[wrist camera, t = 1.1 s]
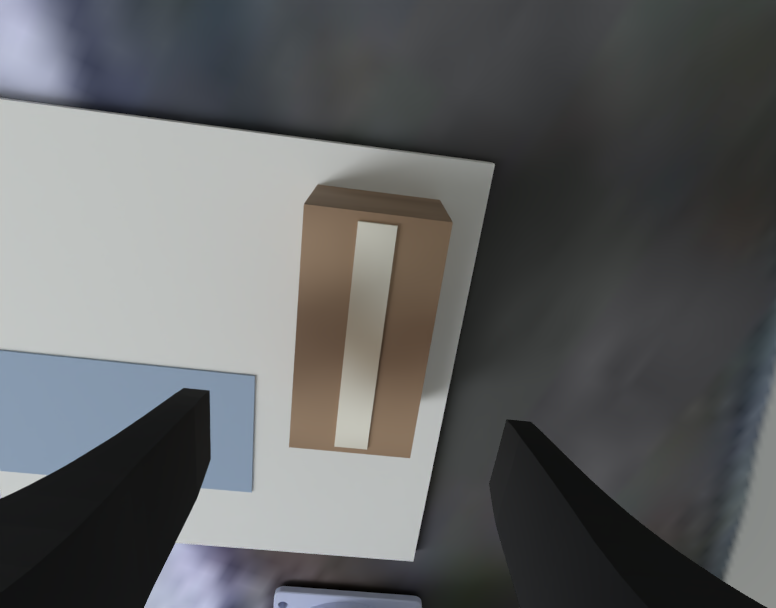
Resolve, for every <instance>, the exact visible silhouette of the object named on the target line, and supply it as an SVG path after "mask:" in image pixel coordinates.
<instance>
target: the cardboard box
mask: <svg viewBox="0 0 776 608" xmlns="http://www.w3.org/2000/svg"><path fill="white" fill-rule="evenodd" d="M452 225H453V222H452V220H451V218H450V216H449V215H448V213H447V211H446V210H445V208H444V206H443V204H442V203H441V201H440V200H437V199H429V198H421V197H413V196H406V195H398V194H390V193H382V192H374V191H366V190H358V189H350V188H342V187H334V186H326V185H318V184H317V186H316V187H315V189H314V190H313V192H312V193H311V194H310V196H309V197H308V199H307V200H306V202H305V203H304V209H303V225H302V242H301V258H300V274H299V291H298V307H297V323H296V340H295V356H294V372H293V389H292V405H291V421H290V438H289V447H292V448H303V449H314V450H325V451H336V452H347V453H358V454H368V455H379V456H390V457H401V458H410V456H411V450H412V445H413V439H414V434H415V428H416V423H417V417H418V412H419V406H420V401H421V395H422V390H423V384H424V379H425V373H426V368H427V362H428V357H429V351H430V346H431V340H432V335H433V329H434V324H435V318H436V313H437V307H438V302H439V296H440V291H441V285H442V280H443V274H444V269H445V263H446V258H447V252H448V247H449V241H450V236H451V230H452Z"/></svg>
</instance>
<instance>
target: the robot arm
mask: <svg viewBox="0 0 776 608" xmlns="http://www.w3.org/2000/svg"><path fill="white" fill-rule="evenodd" d="M210 460H211V439H210V390H200V389H190V388H183V389H181V390H180V391H178V392H177V393H175V394H174V395H172V396H171V397H169V398H168V399H167V400H165V401H164V402H162V403H161V404H160V405H158V406H157V407H155V408H154V409H153V410H151V411H150V412H148V413H147V414H146V415H144V416H143V417H141V418H140V419H138V420H137V421H135V422H134V423H132V424H131V425H129V426H128V427H126V428H125V429H124V430H122V431H121V432H119V433H118V434H116V435H115V436H113V437H111V438H110V439H108V440H107V441H105V442H103V443H102V444H100V445H98V446H97V447H95V448H94V449H92V450H90V451H89V452H87V453H86V454H84V455H82V456H81V457H79V458H78V459H76V460H74V461H73V462H71V463H69V464H67V465H66V466H64V467H62V468H60V469H58V470H57V471H55V472H53V473H51V474H49V475H47V476H45V477H43V478H41V479H40V480H38V481H36V482H34V483H32V484H30V485H28V486H26V487H24V488H22V489H20V490H18V491H16V492H14V493H12V494H10V495H7V496H5V497H3V498H1V499H0V608H144V606H145V604H146V602H147V599H148V597H149V595H150V593H151V591H152V588H153V586H154V584H155V582H156V580H157V578H158V576H159V574H160V572H161V570H162V568H163V566H164V564H165V562H166V560H167V558H168V556H169V554H170V552H171V550H172V548H173V546H174V544H175V542H176V540H177V538H178V536H179V534H180V532H181V530H182V528H183V526H184V524H185V522H186V520H187V518H188V516H189V514H190V512H191V510H192V508H193V506H194V504H195V502H196V500H197V497H198V495H199V492H200V489H201V486H202V484H203V481H204V478H205V475H206V472H207V469H208V466H209V463H210ZM489 485H490V492H491V499H492V506H493V511H494V517H495V523H496V527H497V530H498V534H499V537H500V541H501V544H502V548H503V551H504V555H505V558H506V561H507V565H508V568H509V571H510V575H511V578H512V581H513V585H514V588H515V592H516V595H517V598H518V602H519V605H520V608H767V607H765V606H763V605H761V604H760V603H758V602H756V601H755V600H753V599H751V598H749V597H748V596H746V595H744V594H743V593H741V592H740V591H738V590H736V589H735V588H733V587H731V586H730V585H728V584H727V583H725V582H723V581H722V580H720V579H719V578H717V577H716V576H714V575H713V574H711V573H710V572H708V571H707V570H705V569H704V568H702V567H701V566H699V565H698V564H696V563H694V562H693V561H691V560H690V559H688V558H687V557H686V556H684V555H683V554H681V553H680V552H679V551H677V550H676V549H674V548H673V547H671V546H670V545H669V544H667V543H666V542H665V541H663V540H662V539H661V538H660V537H658V536H657V535H656V534H654V533H653V532H652V531H650V530H649V529H648V528H646V527H645V526H644V525H642V524H641V523H640V522H639V521H637V520H636V519H635V518H634V517H632V516H631V515H630V514H629V513H628V512H626V511H625V510H624V509H623V508H622V507H621V506H620V505H618V504H617V503H616V502H615V501H614V500H613V499H611V498H610V497H609V496H608V495H607V494H606V493H605V492H603V491H602V490H601V489H600V488H599V487H598V486H597V485H596V484H595V483H594V482H593V481H591V480H590V479H589V478H588V477H587V476H586V475H585V474H584V473H583V472H582V471H581V470H580V469H579V468H578V467H577V466H576V465H575V464H574V463H573V462H572V461H571V460H570V459H569V458H568V457H567V456H566V455H565V454H564V453H563V452H562V451H561V450H559V449H558V448H557V447H556V446H555V445H554V444H553V443H552V442H551V441H550V440H549V439H548V438H547V437H546V436H545V435H544V434H543V433H542V432H541V431H540V430H539V429H538V428H537V427H536V426H535V425H534V424H533V423H531V422H527V421H517V420H506V424H505V427H504V431H503V435H502V439H501V442H500V446H499V450H498V453H497V457H496V461H495V465H494V468H493V472H492V476H491V480H490V483H489ZM274 608H422V602H421V599H420V598H419V597H417V596H413V595H400V594H386V593H373V592H359V591H346V590H332V589H319V588H305V587H292V586H281V587H279V588H277V589H276V591H275V596H274Z"/></svg>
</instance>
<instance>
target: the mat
mask: <svg viewBox="0 0 776 608" xmlns="http://www.w3.org/2000/svg"><path fill="white" fill-rule="evenodd" d="M494 167H495V164H494V163H492V162H486V161H479V160H471V159H464V158H456V157H449V156H441V155H433V154H426V153H418V152H411V151H403V150H395V149H388V148H380V147H373V146H365V145H358V144H350V143H342V142H335V141H327V140H320V139H312V138H305V137H297V136H289V135H282V134H274V133H267V132H259V131H251V130H244V129H236V128H229V127H221V126H214V125H206V124H198V123H191V122H183V121H176V120H168V119H160V118H153V117H145V116H138V115H130V114H123V113H115V112H107V111H100V110H92V109H85V108H77V107H70V106H62V105H54V104H47V103H39V102H32V101H24V100H16V99H9V98H1V97H0V492H1V496H2V498H3V497H5V496H7V495H10V494H12V493H14V492H16V491H18V490H20V489H22V488H24V487H26V486H28V485H30V484H32V483H34V482H36V481H38V480H40V479H41V478H43V477H45V476H47V475H49V474H51V473H53V472H55V471H57V470H58V469H60V468H62V467H64V466H66V465H67V464H69V463H71V462H73V461H74V460H76V459H78V458H79V457H81V456H82V455H84V454H86V453H87V452H89V451H90V450H92V449H94V448H95V447H97V446H98V445H100V444H102V443H103V442H105V441H107V440H108V439H110V438H111V437H113V436H115V435H116V434H118V433H119V432H121V431H122V430H124V429H125V428H126V427H128V426H129V425H131V424H132V423H134V422H135V421H137V420H138V419H140V418H141V417H143V416H144V415H146V414H147V413H148V412H150V411H151V410H153V409H154V408H155V407H157V406H158V405H160V404H161V403H162V402H164V401H165V400H167V399H168V398H169V397H171V396H172V395H174V394H175V393H177V392H178V391H180V390H181V389H183V388H190V389H200V390H210V439H211V460H210V463H209V466H208V469H207V472H206V475H205V478H204V481H203V484H202V486H201V489H200V492H199V495H198V497H197V500H196V502H195V504H194V506H193V508H192V510H191V512H190V514H189V516H188V518H187V520H186V522H185V524H184V526H183V528H182V530H181V532H180V534H179V536H178V538H177V540H176V542H175V543H184V544H196V545H209V546H222V547H235V548H247V549H260V550H273V551H286V552H298V553H311V554H324V555H337V556H350V557H362V558H375V559H388V560H401V561H413V560H414V555H415V551H416V546H417V541H418V536H419V531H420V526H421V521H422V517H423V512H424V507H425V502H426V497H427V492H428V487H429V483H430V478H431V473H432V468H433V463H434V458H435V453H436V448H437V444H438V439H439V434H440V429H441V424H442V419H443V414H444V410H445V405H446V400H447V395H448V390H449V385H450V380H451V376H452V371H453V366H454V361H455V356H456V351H457V346H458V342H459V337H460V332H461V327H462V322H463V317H464V312H465V308H466V303H467V298H468V293H469V288H470V283H471V278H472V273H473V269H474V264H475V259H476V254H477V249H478V244H479V239H480V235H481V230H482V225H483V220H484V215H485V210H486V205H487V201H488V196H489V191H490V186H491V181H492V176H493V171H494ZM317 184H318V185H326V186H334V187H342V188H350V189H358V190H366V191H374V192H382V193H390V194H398V195H406V196H413V197H421V198H429V199H437V200H440V201H441V203H442V204H443V206H444V208H445V210H446V211H447V213H448V215H449V216H450V218H451V220H452V222H453V225H452V230H451V236H450V241H449V247H448V252H447V258H446V263H445V269H444V274H443V280H442V285H441V291H440V296H439V302H438V307H437V313H436V318H435V324H434V329H433V335H432V340H431V346H430V351H429V357H428V362H427V368H426V373H425V379H424V384H423V390H422V395H421V401H420V406H419V412H418V417H417V423H416V428H415V434H414V439H413V445H412V450H411V456H410V458H401V457H390V456H379V455H368V454H358V453H347V452H336V451H325V450H314V449H303V448H292V447H289V438H290V421H291V405H292V389H293V372H294V356H295V340H296V323H297V307H298V291H299V274H300V258H301V242H302V225H303V209H304V203H305V202H306V200H307V199H308V197H309V196H310V194H311V193H312V192H313V190H314V189H315V187H316V186H317Z"/></svg>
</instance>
